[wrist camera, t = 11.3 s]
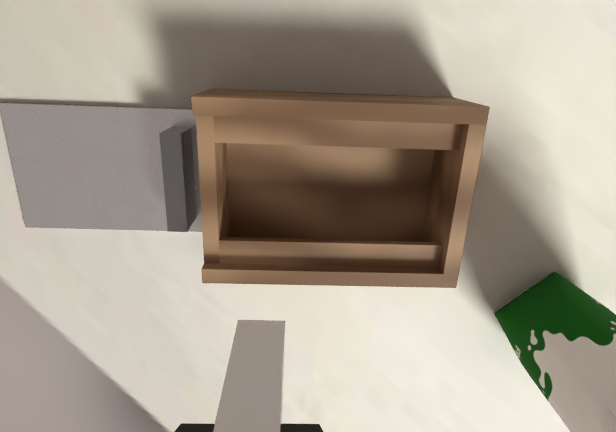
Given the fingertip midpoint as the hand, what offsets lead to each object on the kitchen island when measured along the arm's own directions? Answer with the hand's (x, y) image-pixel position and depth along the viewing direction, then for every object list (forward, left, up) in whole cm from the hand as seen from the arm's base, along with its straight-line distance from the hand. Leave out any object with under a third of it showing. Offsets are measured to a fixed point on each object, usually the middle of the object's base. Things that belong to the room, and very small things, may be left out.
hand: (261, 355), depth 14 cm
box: (+1, +4, -25) cm, 25 cm away
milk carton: (+15, +26, -25) cm, 39 cm away
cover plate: (+1, -15, -25) cm, 29 cm away
